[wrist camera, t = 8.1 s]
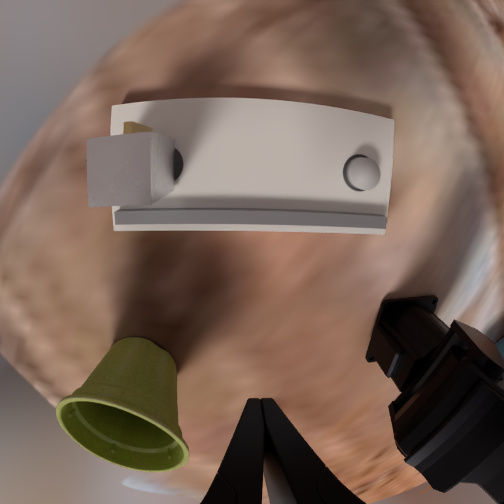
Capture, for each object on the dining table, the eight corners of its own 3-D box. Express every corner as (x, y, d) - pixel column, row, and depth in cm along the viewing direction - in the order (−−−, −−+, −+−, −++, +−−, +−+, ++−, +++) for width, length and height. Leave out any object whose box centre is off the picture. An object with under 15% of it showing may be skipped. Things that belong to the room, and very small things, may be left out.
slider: (175, 127, 14) (151, 114, 9) (174, 190, 15) (151, 204, 11) (126, 130, 14) (87, 123, 9) (127, 191, 15) (88, 207, 10)
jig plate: (385, 121, 16) (402, 118, 14) (376, 230, 19) (391, 238, 17) (119, 108, 15) (105, 103, 12) (120, 226, 17) (107, 235, 15)
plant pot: (182, 314, 20) (161, 403, 12) (206, 396, 23) (203, 475, 15) (80, 320, 19) (32, 389, 11) (118, 396, 23) (95, 464, 14)
